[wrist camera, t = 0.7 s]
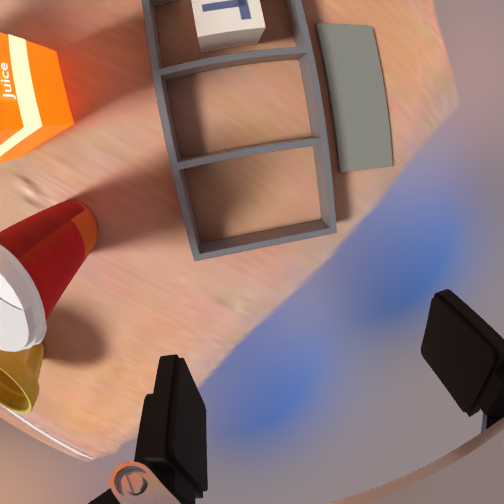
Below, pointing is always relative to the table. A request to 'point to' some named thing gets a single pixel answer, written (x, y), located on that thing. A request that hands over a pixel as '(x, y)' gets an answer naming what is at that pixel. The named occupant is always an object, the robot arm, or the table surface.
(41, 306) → the coffee cup
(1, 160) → the orange juice
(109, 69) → the table surface
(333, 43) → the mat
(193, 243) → the sorting box
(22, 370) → the plant pot
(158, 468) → the robot arm
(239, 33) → the letter cube
